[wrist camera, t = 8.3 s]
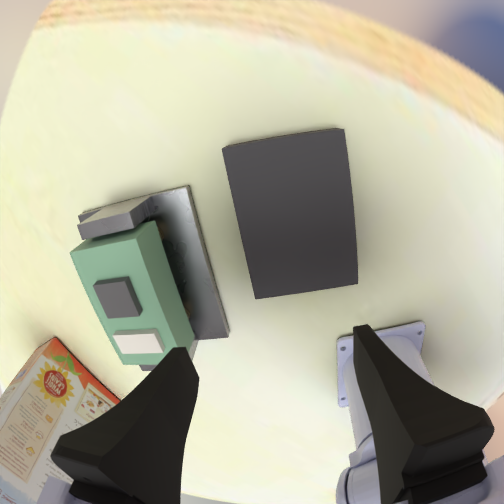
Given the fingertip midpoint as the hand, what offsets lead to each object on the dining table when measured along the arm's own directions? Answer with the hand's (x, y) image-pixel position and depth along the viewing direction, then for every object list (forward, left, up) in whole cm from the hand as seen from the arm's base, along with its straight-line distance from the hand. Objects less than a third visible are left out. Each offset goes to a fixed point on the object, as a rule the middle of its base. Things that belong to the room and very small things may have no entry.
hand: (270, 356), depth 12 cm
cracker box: (-13, +24, -10) cm, 29 cm away
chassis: (0, +9, -10) cm, 13 cm away
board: (0, +9, -8) cm, 12 cm away
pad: (+3, -2, -10) cm, 11 cm away
